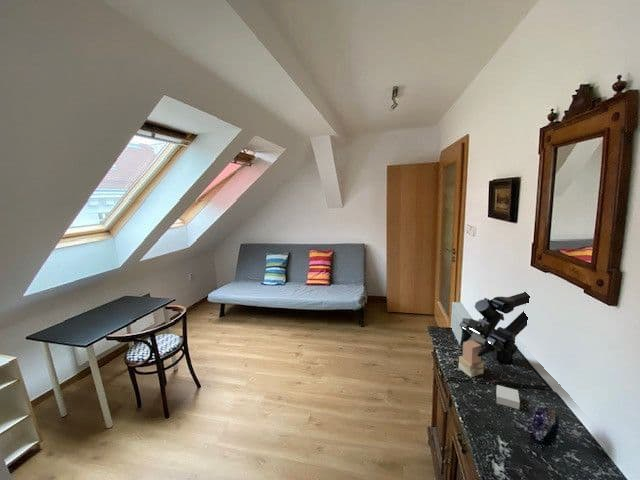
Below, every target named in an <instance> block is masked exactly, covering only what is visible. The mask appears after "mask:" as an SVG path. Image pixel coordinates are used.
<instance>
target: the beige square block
mask: <svg viewBox="0 0 640 480" xmlns="http://www.w3.org/2000/svg"><path fill="white" fill-rule="evenodd" d="M459 363H460V364H461V365H463V366H464V367H465V368H466V369H467V370H468V371H470V372H471V371H476V370H480V369H484V367H485V362H484V361H483V360H481V362H479V363H476V364H472V365H471V364H470V363H469V362H467V361H466V360H464V359H463V355H460V356H458V364H459ZM484 370H485V369H484Z"/></svg>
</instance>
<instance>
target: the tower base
mask: <svg viewBox="0 0 640 480" xmlns="http://www.w3.org/2000/svg"><path fill="white" fill-rule="evenodd" d="M458 369H459V370H461V371H462V372H464V374H466V375H467V376H469V377H470V378H473V377H476V376H479V375H483V374H484V370H485V369H480V370H476V371H471V372H470V371H468V370H467V369H466V368H465V367H464V366H463V365H461V364H460V363H459V362H458Z"/></svg>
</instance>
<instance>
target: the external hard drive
mask: <svg viewBox="0 0 640 480" xmlns="http://www.w3.org/2000/svg"><path fill="white" fill-rule="evenodd" d="M477 334H478V333H477ZM471 335H472V336H471V340H473V341H475V342H477V343H478V344H480V345H481V346H484V343H485V341H486V340H485V339H483V338H481V337H479V336H477V335H476V334H474V333H473V334H471ZM482 336H483V335H482ZM489 336H491V334H490V335H489ZM483 337H484V336H483Z"/></svg>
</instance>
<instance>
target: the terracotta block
mask: <svg viewBox="0 0 640 480" xmlns="http://www.w3.org/2000/svg"><path fill="white" fill-rule="evenodd" d="M481 349H482V344H478V343H477V342H475V341H473V340H469V341H466V342H463V346H462V356H463V359H464V360H466V361H467V362H469V363H470V364H471V365H472V364H476V363H479V362H481V361H482V356H480V357H478V356H477V355H478V353H479V351H480V350H481Z"/></svg>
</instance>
